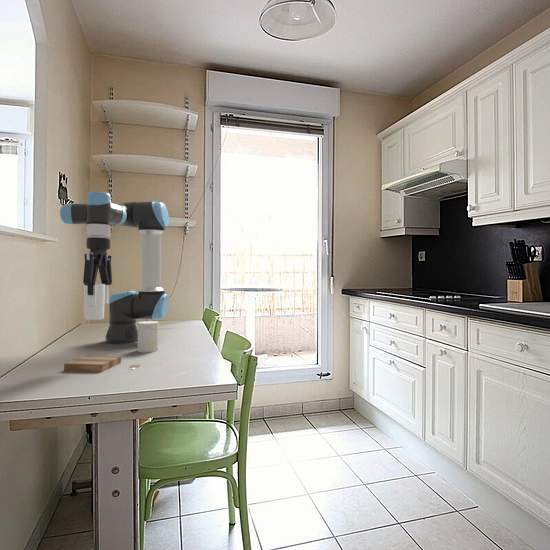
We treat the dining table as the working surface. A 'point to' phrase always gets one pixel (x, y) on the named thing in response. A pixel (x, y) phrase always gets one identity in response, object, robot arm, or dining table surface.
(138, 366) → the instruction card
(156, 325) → the cup
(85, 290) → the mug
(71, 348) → the dining table surface
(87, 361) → the base brick
